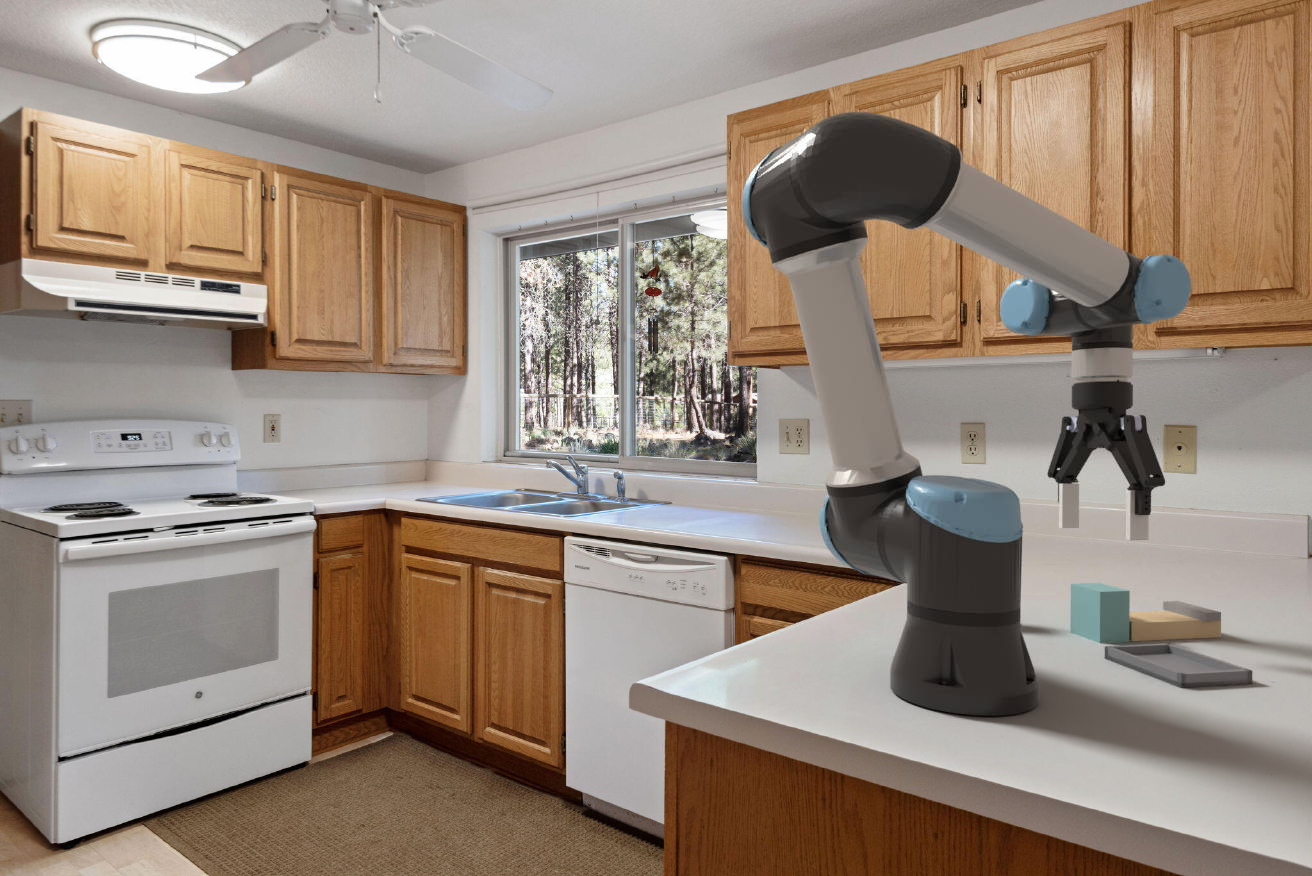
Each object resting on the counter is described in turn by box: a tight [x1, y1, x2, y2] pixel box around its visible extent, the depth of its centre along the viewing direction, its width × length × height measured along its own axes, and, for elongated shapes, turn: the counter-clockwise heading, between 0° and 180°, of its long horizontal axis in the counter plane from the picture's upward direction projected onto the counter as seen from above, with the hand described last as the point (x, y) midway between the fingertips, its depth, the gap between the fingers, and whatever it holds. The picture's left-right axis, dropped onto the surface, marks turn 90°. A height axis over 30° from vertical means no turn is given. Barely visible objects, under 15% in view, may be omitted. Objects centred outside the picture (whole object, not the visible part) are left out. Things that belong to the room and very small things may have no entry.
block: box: [1070, 582, 1131, 644], centre depth 116 cm, size 4×6×7 cm
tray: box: [1104, 642, 1253, 689], centre depth 99 cm, size 9×12×2 cm
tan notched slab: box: [1129, 600, 1222, 642], centre depth 117 cm, size 14×8×4 cm, turn 100°
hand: (1101, 533), depth 115 cm, fingers open, 13 cm apart
